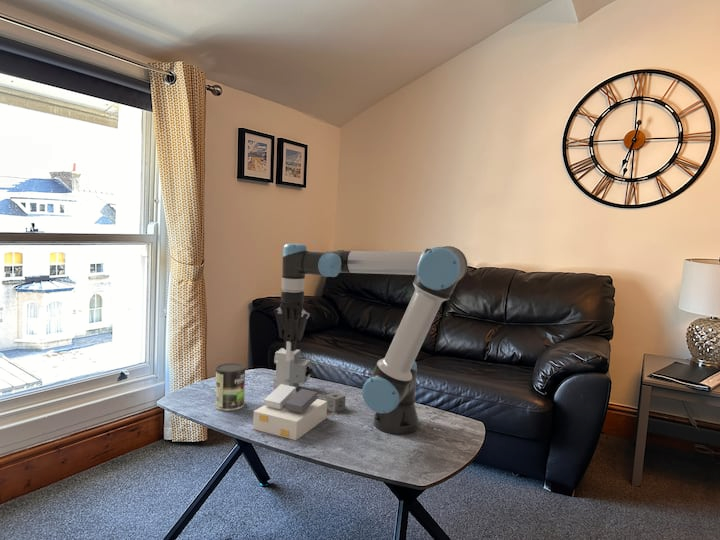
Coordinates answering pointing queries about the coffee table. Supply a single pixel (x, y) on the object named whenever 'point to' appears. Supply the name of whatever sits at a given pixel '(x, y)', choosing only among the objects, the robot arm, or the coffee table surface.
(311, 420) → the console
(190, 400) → the coffee table surface
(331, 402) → the dice cube
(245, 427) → the coffee table surface
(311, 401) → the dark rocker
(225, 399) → the coffee can
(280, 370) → the circuit breaker
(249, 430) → the coffee table surface
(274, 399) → the block
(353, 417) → the coffee table surface
